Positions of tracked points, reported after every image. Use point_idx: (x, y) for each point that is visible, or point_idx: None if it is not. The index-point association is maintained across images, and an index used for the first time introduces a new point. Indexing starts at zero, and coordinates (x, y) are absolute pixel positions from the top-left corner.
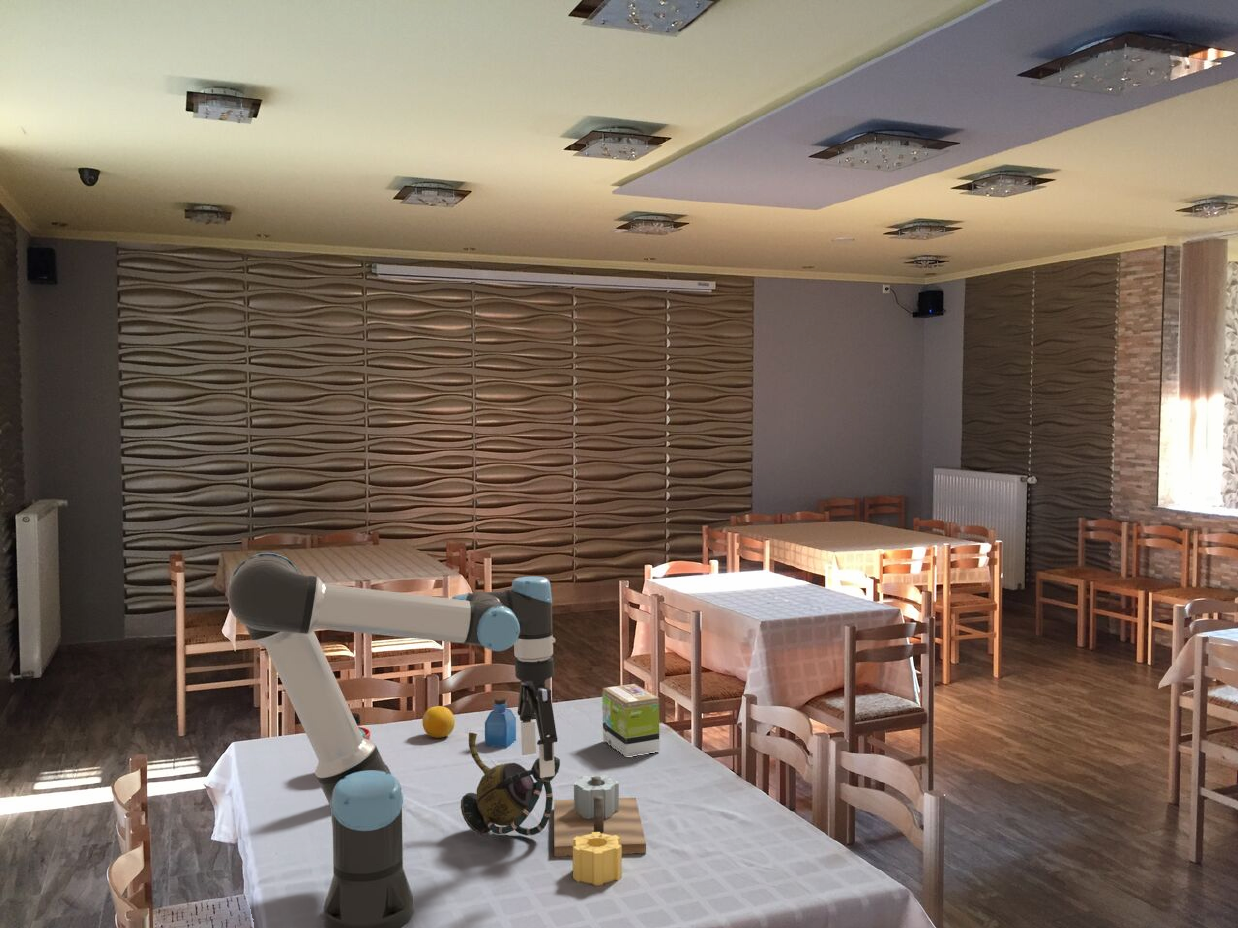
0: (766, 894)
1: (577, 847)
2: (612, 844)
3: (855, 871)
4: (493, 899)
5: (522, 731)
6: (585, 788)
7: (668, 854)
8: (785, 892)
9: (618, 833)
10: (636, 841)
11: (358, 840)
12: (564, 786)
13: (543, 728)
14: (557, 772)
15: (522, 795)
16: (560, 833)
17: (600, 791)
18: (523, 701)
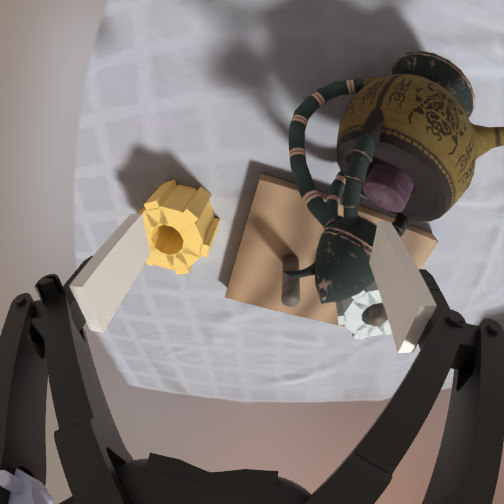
0: (118, 331)
1: (153, 206)
2: (155, 257)
3: (154, 385)
4: (139, 53)
5: (406, 278)
6: (363, 294)
7: (217, 306)
8: (122, 342)
9: (271, 280)
10: (235, 290)
11: None
12: (479, 270)
13: (1, 339)
14: (284, 272)
15: (367, 171)
16: None
17: (344, 309)
18: (416, 434)
